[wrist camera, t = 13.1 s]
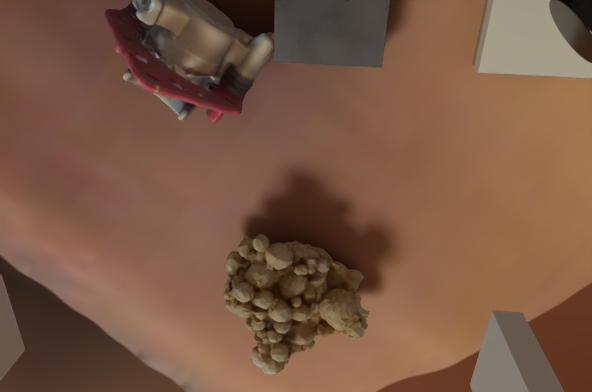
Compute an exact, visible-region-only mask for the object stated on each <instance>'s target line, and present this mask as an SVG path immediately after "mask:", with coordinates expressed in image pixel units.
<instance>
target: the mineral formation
mask: <svg viewBox="0 0 592 392" xmlns="http://www.w3.org/2000/svg"><path fill="white" fill-rule="evenodd" d="M237 250H238V252H233V251H232V252H231V253H230V254H229V255H228V257H227V260H226V263H225V267H226V270H227V273H228V281H227V282H226V285H225V288H226V290H225V292H224V298H225V299H226V300H225V306H226V307H227V309H228V310H229V312H232V313H234V314H235V315H237V316H239V317H243V318H247V319H246V325H245V327H246V328H248V329H249V330H250V332H256V333H255V336H254V340H255V342H256V343H257V344H258V346H256V347H254V348H253V350H252V353H251V354H252V360H253V363H255V364H256V365H257V366H259V367H261V368H262V370H263V371H264V372H265V373H266V374H277V373H278V372H280V371H281V370H283V369H284V366H286V365H287V363H288V360H289V359H290V357H291V354H293V353H294V352H300V351H304V350H310V349H311V348H312V347H313V346H314V344H315V341H314V340H313V339H314V337H315V336H318V335H320V336H322V337H326V336H329V335H332V334H333V333H336V334H337V333H340V332H342V331H343V334H349V339H355V338H359V337H362V336H363V335H364V332H365V329H366V328H367V326H368V325H367V323H366V319H365V318H367V317H368V315H369V311H367V310H364V309H363V308H362V307H361V305H360V301H361V298H360V297H359V296H358V295H355V292H356V291H357V289H358V287H359V284H360V282H361V281H362V279H363V278H364V277H363V275H362V273H361V272H360V271H358V270H353V269H352V270H348V268H347V267H346V266H345V265H344V264H342V263H339V262H338V261H333V260H332V258H331V256H330V255H329V254H328V253H327V252H326V251H325V250H324V249H322V248H319V247H313V246H311V245H309V244H304V245H302V244H301V243H298V242H297V241H296V240H295V241H293V242H287V243H281V242H279V243H273V244H270V243H269V239H268V238H267V237H266V236H265V235H262V234H258V235H257V236H256V237H255V239H252V238H244V239H243V241H242V242H241V243H240V245H239V247H238V248H237ZM245 258H246V259H250V260H246V259H245Z"/></svg>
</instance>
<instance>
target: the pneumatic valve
mask: <svg viewBox="0 0 592 392" xmlns="http://www.w3.org/2000/svg"><path fill="white" fill-rule="evenodd" d="M549 8H550V12H551V15H552V18H553V20H554V22H555V24H556V26H557V28H558V30H559V31H560V33H561V34H562V36H563V37H564V39H565V40H566V41H567V43H568V44H569V45H570V46H571V47H572V48H573V49H574V51H575V52H576V53H577V54H579V55H580V56H581V57H582V58H583V59H585V60H586V61H588V62H590V63H592V0H550V2H549Z"/></svg>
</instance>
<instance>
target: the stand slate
mask: <svg viewBox="0 0 592 392" xmlns="http://www.w3.org/2000/svg"><path fill="white" fill-rule="evenodd" d="M389 3H390V0H275V21H274V62H284V63H304V64H324V65H343V66H363V67H382V62H383V54H384V45H385V37H386V28H387V20H388V12H389Z"/></svg>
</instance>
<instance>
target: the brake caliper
mask: <svg viewBox="0 0 592 392" xmlns="http://www.w3.org/2000/svg"><path fill="white" fill-rule="evenodd" d="M104 18H105V20H106V24H107V25H108V27H109V29H110V31H111V33H112V35H113V37H114V39H115V41H116V43H115V45H114V49H115V51H116V52H118V53H120V54H122V56H123V57H124V59H125V61H126V62H127V64H128V66H129V69H128V70H126V71H125V73H124V74H123V79H124V80H125V81H130V82H133V83H134V84H136V85H138V86H140V87H142V88H144V89H145V90H147V91H149V92H151V93H153V94H155V95H156V96H158V97H159V98H160V99H161V100H162V101H164V102H165V103H166V104H167V105H168V106H169V107H170V108H171V109H173V110H174V111H175V112H176V113H177V114H178V119H179V120H184V119H186V118H187V117H188V116H189V115H190V114H191V113H192V112H193V111H194V110H195V109H196V108H197V107H201V108H206V113H207V116H208V118H209V120H210V121H211V122H213V123H217V122H218V121H219V120H220V119H221V117H222V116H223V114H224V113H227V114H233V115H238V114H240V113H241V111H242V101H243V99H244V96H245V94H246V93H247V91H248V90H249V89H250V88H251V87H252V85H253V84H254V82H255V80H256V78H257V76H258V73H259V71H260V70H261V68H262V67H263V65H264V63H265V62H266V61H267V60H268V58H269V57H270V54H271V52H272V50H273V49H274V33H273V32H268V33H267V34H266V33H262V34H260V35H258V36H256V37H252V36H250V35H249V34H248V33H246V32H245V31H243V30H242V29H238V28H235V26H234V24H233V23H232V21H231V20H230V19H229V18H228V17H227V16H226V15H225V14H224V13H223V12H221V11H220V10H218V9H217V8H216V7H215V6H214V5H212V4H211V3H210V2H208V1H207V0H132V1H131V3H130V4H129V5H128V6H127V7H126V8H124V9H122V10H116V9H113V10H112V9H108V10H106V11H105V13H104Z"/></svg>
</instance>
